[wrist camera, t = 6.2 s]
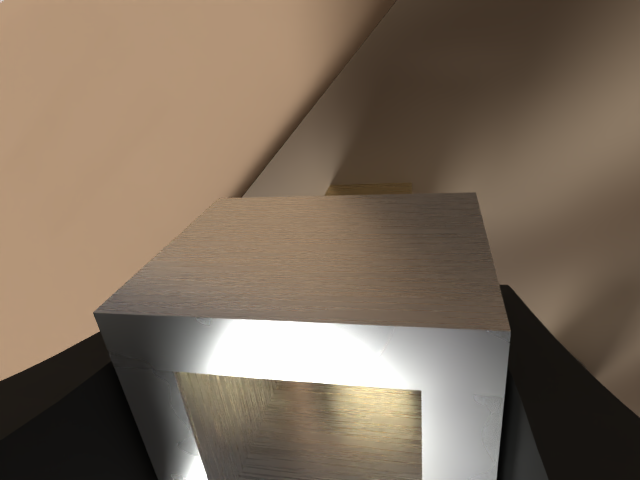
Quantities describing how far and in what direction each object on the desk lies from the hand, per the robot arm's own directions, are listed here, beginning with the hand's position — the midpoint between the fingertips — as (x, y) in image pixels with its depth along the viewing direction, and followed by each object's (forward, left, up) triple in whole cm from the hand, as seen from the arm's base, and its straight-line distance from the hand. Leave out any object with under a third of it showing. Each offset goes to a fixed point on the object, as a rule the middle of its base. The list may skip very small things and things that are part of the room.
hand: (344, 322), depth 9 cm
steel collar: (0, 0, -1) cm, 1 cm away
